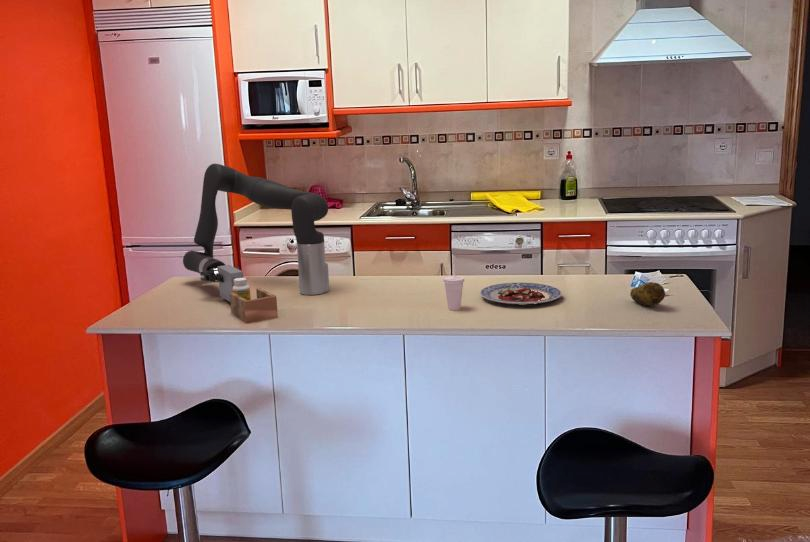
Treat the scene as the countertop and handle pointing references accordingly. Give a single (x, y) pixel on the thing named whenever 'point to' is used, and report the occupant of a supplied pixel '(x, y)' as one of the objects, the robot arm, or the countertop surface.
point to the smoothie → (454, 290)
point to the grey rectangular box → (228, 279)
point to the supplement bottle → (241, 288)
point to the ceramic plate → (520, 293)
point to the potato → (648, 293)
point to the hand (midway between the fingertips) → (229, 278)
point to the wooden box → (254, 306)
